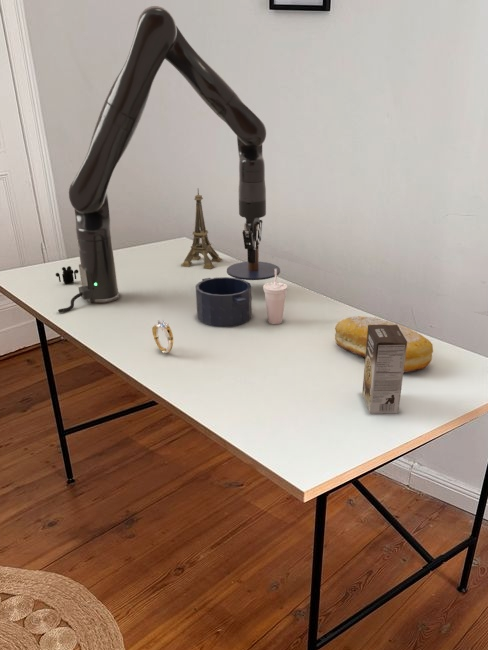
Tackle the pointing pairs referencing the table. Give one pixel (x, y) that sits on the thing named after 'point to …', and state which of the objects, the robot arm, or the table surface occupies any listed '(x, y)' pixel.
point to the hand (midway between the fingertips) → (253, 260)
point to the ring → (165, 327)
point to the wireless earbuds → (67, 275)
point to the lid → (253, 270)
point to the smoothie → (275, 300)
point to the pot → (224, 301)
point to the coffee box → (384, 368)
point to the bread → (355, 328)
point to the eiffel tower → (202, 233)
